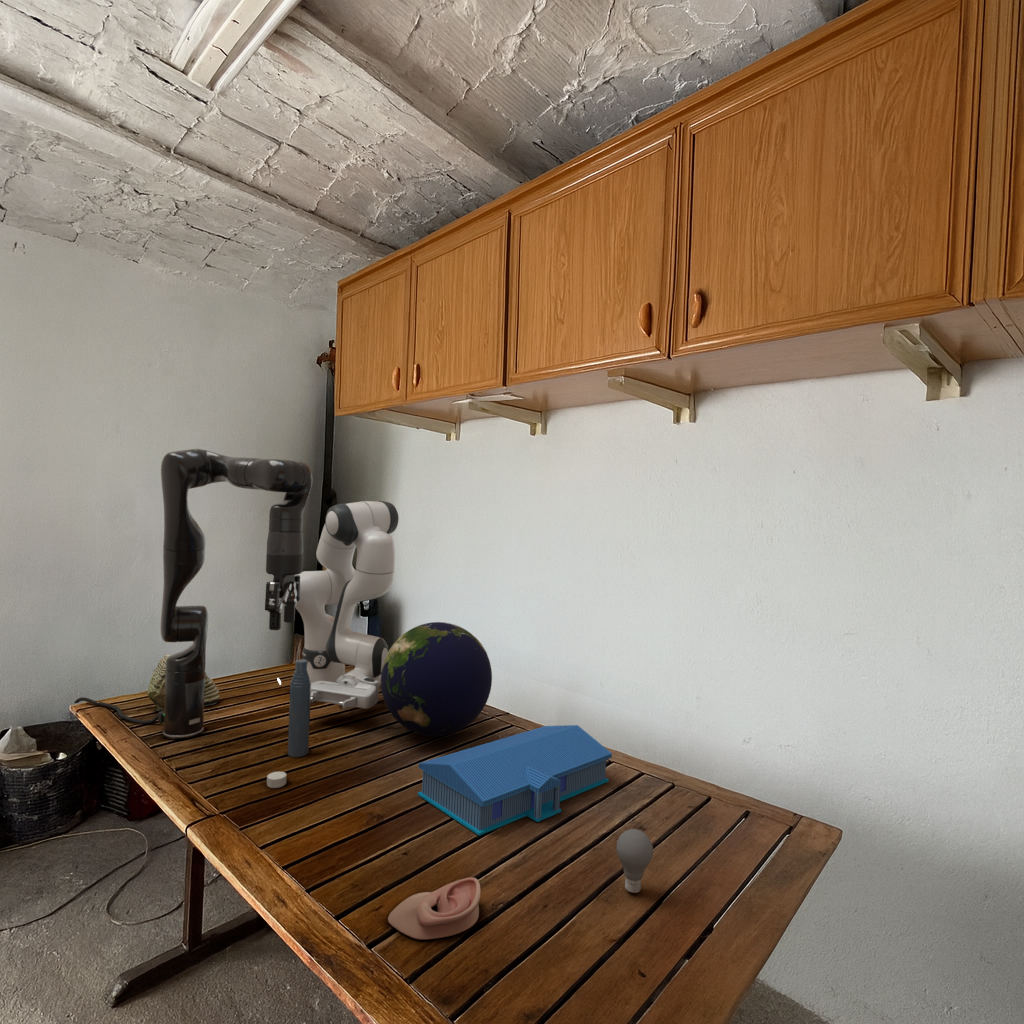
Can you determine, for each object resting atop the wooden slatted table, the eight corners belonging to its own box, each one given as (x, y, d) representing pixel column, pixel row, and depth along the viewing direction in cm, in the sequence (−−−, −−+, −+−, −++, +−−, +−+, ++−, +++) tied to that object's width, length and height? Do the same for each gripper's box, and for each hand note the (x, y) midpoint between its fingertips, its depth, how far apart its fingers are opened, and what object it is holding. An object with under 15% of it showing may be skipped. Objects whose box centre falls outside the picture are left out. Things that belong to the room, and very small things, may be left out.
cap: (285, 778, 141) (285, 770, 141) (287, 786, 138) (287, 777, 138) (266, 781, 140) (266, 772, 140) (267, 789, 136) (267, 780, 136)
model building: (489, 842, 118) (492, 789, 118) (416, 794, 136) (418, 748, 136) (620, 786, 145) (622, 742, 145) (544, 751, 163) (546, 712, 163)
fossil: (144, 707, 182) (145, 655, 182) (212, 696, 194) (213, 647, 194) (151, 716, 175) (153, 662, 175) (221, 703, 188) (223, 653, 188)
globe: (355, 741, 164) (360, 626, 164) (415, 708, 192) (419, 609, 191) (458, 763, 153) (464, 640, 152) (506, 725, 181) (511, 620, 180)
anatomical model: (380, 905, 93) (408, 862, 104) (379, 932, 93) (407, 886, 104) (467, 921, 90) (487, 875, 101) (466, 949, 90) (486, 900, 101)
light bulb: (610, 879, 108) (613, 822, 108) (644, 879, 109) (647, 822, 109) (619, 902, 102) (622, 840, 102) (655, 901, 103) (658, 840, 103)
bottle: (303, 757, 153) (307, 663, 153) (284, 756, 153) (287, 662, 153) (311, 749, 158) (315, 658, 157) (292, 748, 158) (296, 657, 158)
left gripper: (290, 555, 131) (287, 633, 131) (312, 550, 145) (309, 620, 145) (254, 553, 131) (251, 632, 131) (279, 548, 145) (277, 619, 145)
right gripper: (319, 672, 184) (291, 686, 170) (383, 681, 179) (360, 696, 165) (318, 694, 184) (290, 709, 171) (382, 703, 179) (359, 720, 166)
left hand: (282, 625), depth 138 cm, fingers open, 8 cm apart
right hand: (325, 703), depth 168 cm, fingers open, 8 cm apart
